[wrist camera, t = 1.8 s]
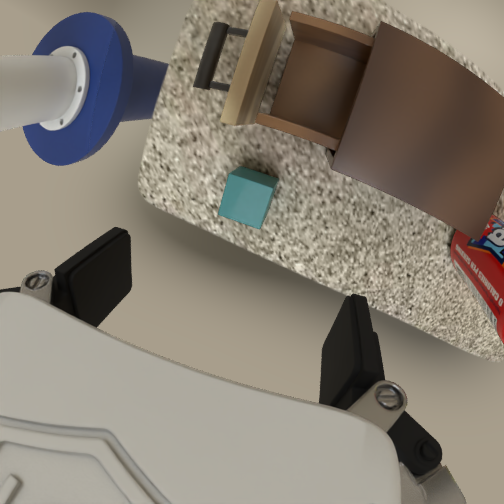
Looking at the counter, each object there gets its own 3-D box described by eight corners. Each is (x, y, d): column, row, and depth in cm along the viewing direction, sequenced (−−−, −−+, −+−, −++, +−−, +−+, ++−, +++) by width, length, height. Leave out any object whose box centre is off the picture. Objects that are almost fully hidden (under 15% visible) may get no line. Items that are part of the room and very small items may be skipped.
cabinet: (325, 154, 25) (330, 169, 18) (362, 48, 20) (381, 20, 12) (441, 208, 24) (478, 242, 17) (477, 112, 19) (526, 117, 12)
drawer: (203, 110, 25) (171, 110, 19) (233, 16, 20) (209, -9, 14) (369, 167, 24) (387, 182, 18) (404, 70, 19) (430, 57, 13)
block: (229, 202, 29) (217, 214, 26) (240, 165, 27) (228, 173, 24) (266, 215, 29) (259, 229, 25) (279, 178, 27) (273, 188, 24)
